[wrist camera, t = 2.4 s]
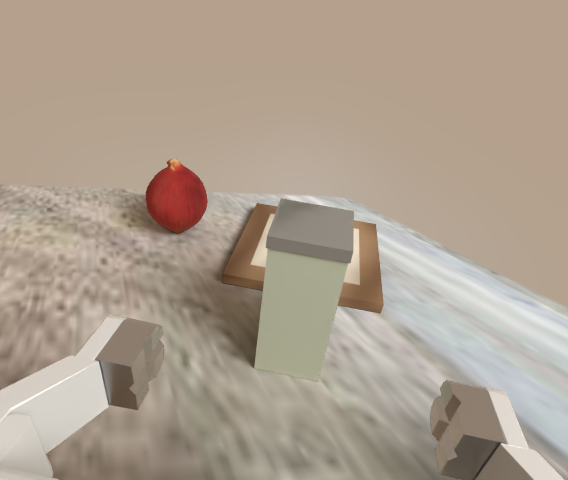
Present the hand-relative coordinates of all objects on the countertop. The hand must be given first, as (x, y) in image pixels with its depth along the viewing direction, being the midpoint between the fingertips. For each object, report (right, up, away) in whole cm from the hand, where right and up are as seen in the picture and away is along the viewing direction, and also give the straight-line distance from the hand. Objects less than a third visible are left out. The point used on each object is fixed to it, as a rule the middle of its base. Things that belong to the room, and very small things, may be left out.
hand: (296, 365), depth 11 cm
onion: (-11, +4, +29) cm, 32 cm away
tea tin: (0, -5, +17) cm, 18 cm away
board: (+2, +2, +28) cm, 28 cm away
